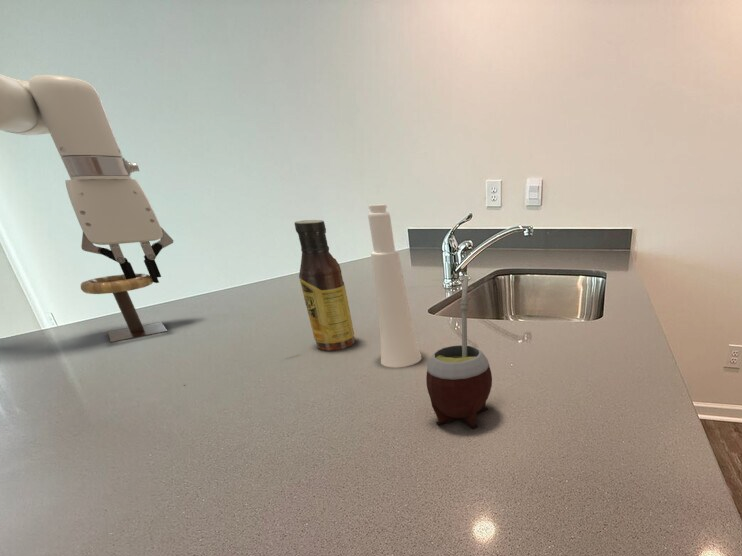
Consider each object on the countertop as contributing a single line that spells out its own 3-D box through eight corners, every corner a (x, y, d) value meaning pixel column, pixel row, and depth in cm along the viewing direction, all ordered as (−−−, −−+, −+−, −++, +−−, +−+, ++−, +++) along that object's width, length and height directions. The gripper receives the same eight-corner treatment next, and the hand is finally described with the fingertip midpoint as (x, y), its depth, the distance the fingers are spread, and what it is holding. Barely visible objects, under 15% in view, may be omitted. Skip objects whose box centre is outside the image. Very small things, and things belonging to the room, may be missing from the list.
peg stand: (113, 347, 71) (85, 290, 67) (110, 337, 76) (84, 283, 72) (169, 335, 76) (147, 282, 72) (163, 326, 81) (142, 276, 77)
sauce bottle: (317, 343, 70) (286, 220, 62) (355, 337, 72) (330, 218, 64) (317, 356, 65) (283, 223, 56) (358, 349, 67) (331, 220, 58)
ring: (84, 298, 66) (78, 287, 66) (83, 289, 73) (78, 279, 72) (157, 287, 72) (153, 276, 71) (150, 280, 78) (146, 270, 78)
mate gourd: (447, 442, 42) (431, 299, 35) (420, 411, 48) (401, 284, 42) (508, 421, 46) (504, 287, 39) (475, 394, 52) (467, 275, 45)
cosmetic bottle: (384, 372, 59) (354, 206, 49) (378, 358, 64) (350, 204, 54) (425, 364, 61) (405, 204, 51) (417, 351, 66) (396, 203, 56)
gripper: (156, 171, 74) (194, 274, 82) (29, 171, 64) (86, 288, 72) (162, 169, 69) (202, 278, 77) (26, 169, 59) (87, 294, 67)
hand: (145, 282), depth 75 cm, fingers closed on ring, 2 cm apart
